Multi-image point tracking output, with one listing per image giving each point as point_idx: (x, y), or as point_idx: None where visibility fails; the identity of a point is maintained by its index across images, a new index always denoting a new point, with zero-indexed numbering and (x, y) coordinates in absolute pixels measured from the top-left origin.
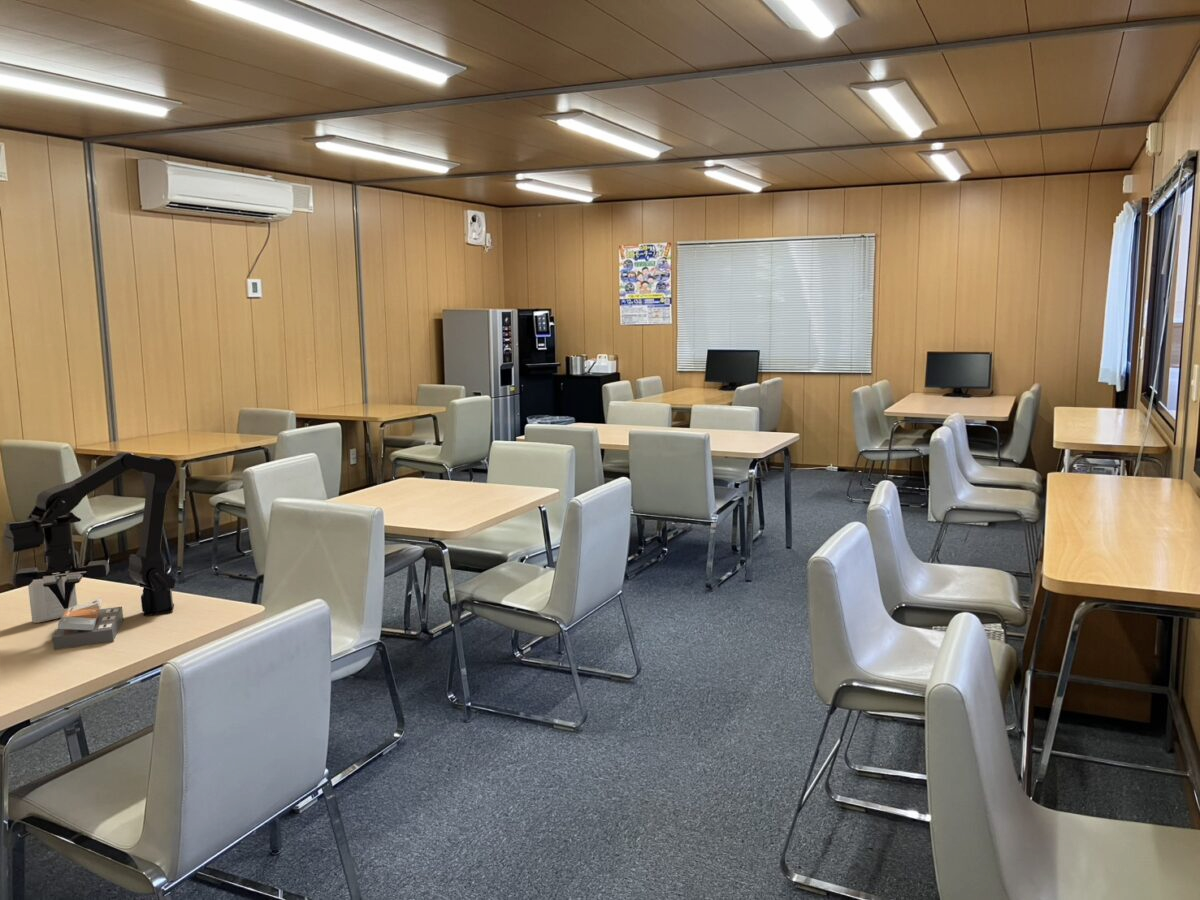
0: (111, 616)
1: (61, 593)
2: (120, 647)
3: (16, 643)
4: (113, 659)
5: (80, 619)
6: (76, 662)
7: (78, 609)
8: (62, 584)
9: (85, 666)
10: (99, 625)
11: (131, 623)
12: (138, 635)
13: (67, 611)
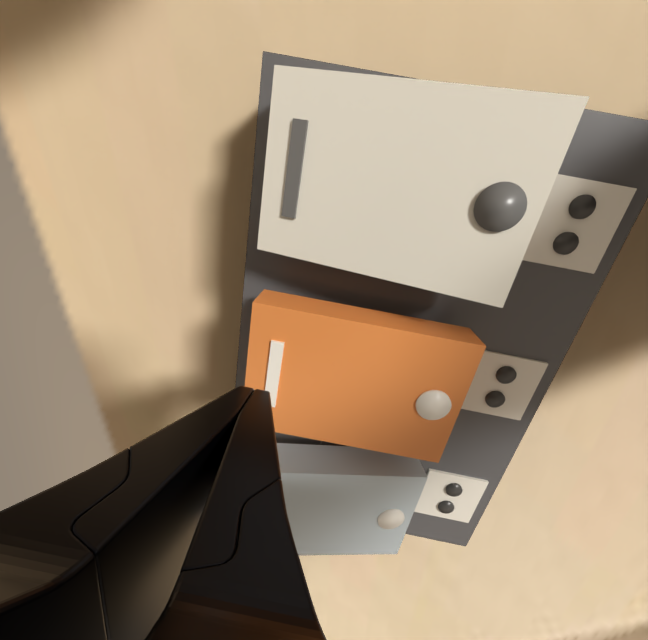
0: (522, 364)
1: (158, 611)
2: (456, 551)
3: (79, 274)
4: (414, 617)
5: (343, 503)
6: (318, 582)
7: (344, 268)
8: (61, 590)
9: (339, 617)
10: (427, 475)
11: (597, 294)
12: (551, 480)
13: (265, 304)
